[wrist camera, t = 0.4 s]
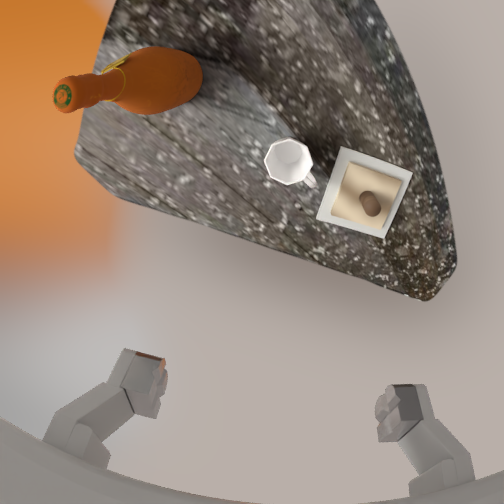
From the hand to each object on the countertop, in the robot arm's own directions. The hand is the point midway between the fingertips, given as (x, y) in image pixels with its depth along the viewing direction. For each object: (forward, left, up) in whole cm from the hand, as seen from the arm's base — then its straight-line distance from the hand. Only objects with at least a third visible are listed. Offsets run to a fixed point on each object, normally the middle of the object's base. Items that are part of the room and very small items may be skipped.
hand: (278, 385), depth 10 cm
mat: (+6, +16, -45) cm, 48 cm away
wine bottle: (-6, -20, -45) cm, 50 cm away
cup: (+3, +2, -45) cm, 45 cm away
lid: (+6, +16, -45) cm, 48 cm away
